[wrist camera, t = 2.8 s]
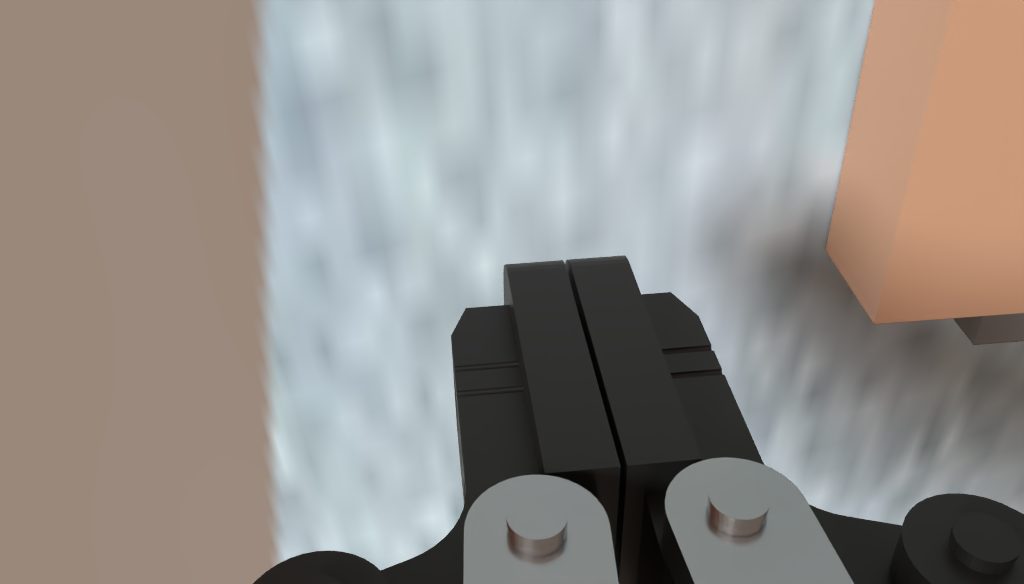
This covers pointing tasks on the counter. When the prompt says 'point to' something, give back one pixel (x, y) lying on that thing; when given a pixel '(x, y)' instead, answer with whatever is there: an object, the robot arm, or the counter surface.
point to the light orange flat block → (935, 164)
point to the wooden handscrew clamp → (993, 328)
